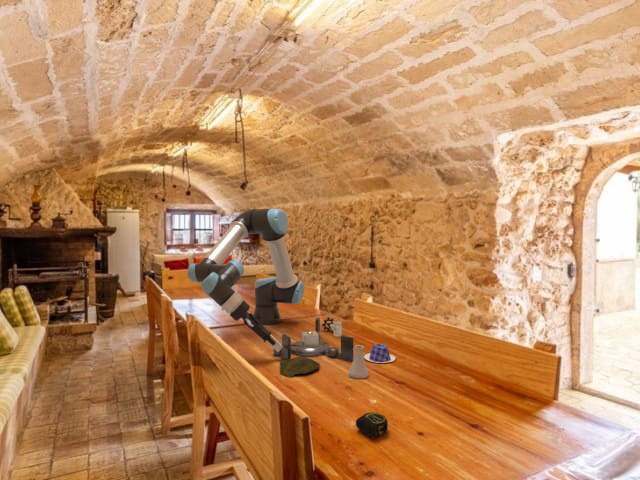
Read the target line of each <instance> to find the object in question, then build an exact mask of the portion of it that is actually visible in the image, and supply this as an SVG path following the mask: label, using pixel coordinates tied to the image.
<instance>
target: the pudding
mask: <svg viewBox="0 0 640 480" xmlns="http://www.w3.org/2000/svg"><path fill="white" fill-rule="evenodd" d="M363 358H364V360H367V361H369V362H371V363H379V364H380V363H381V364H384V363H391V362H394V361H395V360H396V358H397V357H396V356H395V355H393V354H390V351H389V347H388V345H386V344H382V343H375V344H373V345H372V346H371V350H370V352H369V353H366V354H365V355H363Z"/></svg>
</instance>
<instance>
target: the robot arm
mask: <svg viewBox="0 0 640 480" xmlns="http://www.w3.org/2000/svg"><path fill="white" fill-rule="evenodd" d="M288 219H289V218H288V216H287V214H286V212H285V211H284V210H283V209H280V208H275V207H274V208H272V207H271V208H252V209H247V210H246V211H244V212H241V213H240V214H239V215H238V216H235V218H234V219H233V220H231V222H230V223H229V225H228V229H227V230H226V231H225V232H224V233H223V235H222V236H220V238H219V240H217V242H216V243H215V244H214V245H213V246H212V247H211V248H210V250H209V251H208V252H207V253H206V255H205V256H204V257H203V258H202V259H201V261H200V262H199V263H198V262H195V263H190V265H189V266H188V267H187V270H186V271H187V272H186V273H187V278H188V279H189V281H190V282H194V283H200V284H199V287H200V288H201V290H203V292H205V294H206V295H207V296H208V297H210V298H211V299H212V300H213V301H214V302H215V303H216V304H217V305H219V307H221V311H225V312H226V313H227V314H229V316H230V317H231V318H232V320H234V321H236V322H237V321H239V320H240V319H242V321H243V323H244V325H245V326H246V327H248V328H249V329H250V330H252V332H253V333H255V334H256V335H257V336H258V337H260V338H261V339H262V340H263V343H268V344H269V346H271V348H274V349H275V350H276V351H277V352H279V351H280V350H281V349H282V348H283V346H282V343H280V341H278V340H277V339H276V338H275V336H273V335H272V331H269V329H267V328H266V327H265V325H275V324H279V323H280V322H281V321H282V317H281V314H280V311H279V308H278V304H289V305H293V304H294V305H298V304H300V303H302V301H303V298H304V296H305V295H304V294H305V283H304V282H303V281H302V280H299V277H298V276H297V275H296V274H295V273H294V270H293V266H292V263H291V259H290V254H289V252H288V251H289V250H288V248H287V242H286V239H285V236H286V234H287V232H288V230H289V220H288ZM253 234H255V235H258V234H260V236H261V239H262V240H263V241H264V242H266V244H267V248H268V251H269V255H270V258H271V262H272V265H273V268H274V272H275V275H276V277H275V276H272V277H264V278H259V279H256V280H255V282H254V283H255V284H254V300H255V301H254V302H255V304H254V306H255V307H254V310H253V312H249V311H250V308H251V306H250V304H248V302H246V301H245V300H243V298H242V296H240V295H239V294H238V293H237V292H236V291H235V290H234V289H233V286H235V284H236V283H237V282H238V281H239V280H240V279H241V277H242V276H243V275H244V273H245V268H244V265H243V264H242V262H240V261H239V260H237V259H232V260H231V259H230V260H229V261H228V262H227V263H226V264H224V263H225V261H226V259H228V257H229V256H230V255H231V254H232V253H233V251H234V250H235V248H236V247H237V246H238V245H239V243H240V242H241V241H242V240H244V239H245V238H247V237H248V235H253Z"/></svg>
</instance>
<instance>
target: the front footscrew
mask: <svg viewBox="0 0 640 480" xmlns="http://www.w3.org/2000/svg"><path fill="white" fill-rule="evenodd" d="M291 340H292V339H291V336H289V335H287V334H285V333H283V334H281V345H282V346H283V348H282V349H281V350H280V351H279V352H277V351H276V350H275V349H274V348H273V347H272V348H273V350H272V351H273V356H274V357H280V358H282V360H287V359H292V356H291V355H292V354H291V344H292V343H291Z"/></svg>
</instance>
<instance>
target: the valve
mask: <svg viewBox="0 0 640 480" xmlns="http://www.w3.org/2000/svg"><path fill="white" fill-rule="evenodd" d="M323 322H324V323H322V324H321V325H322V327H323V330H324V331H326V330H327V331H328V332H330V331H331V330H332V331H333V335H332V336H333V337H336V338H337V337H340V338H341V335H343V333H342V331H343V326H342V325H343V324H342V323H343V322H342V321H340V320H334V319H333V318H330V316H329V317H327V318H326V319H323Z"/></svg>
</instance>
